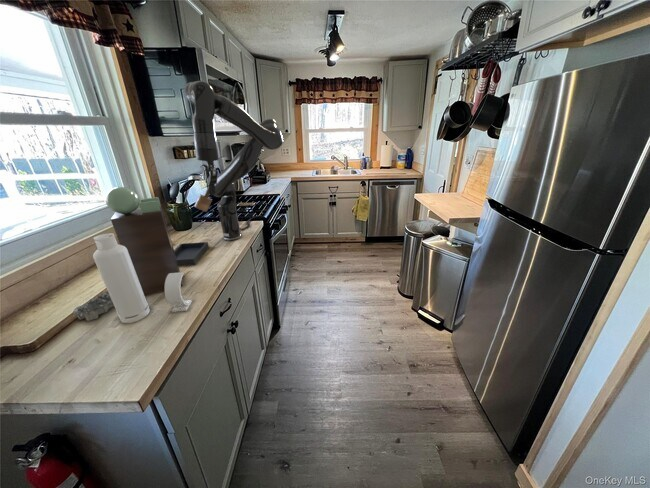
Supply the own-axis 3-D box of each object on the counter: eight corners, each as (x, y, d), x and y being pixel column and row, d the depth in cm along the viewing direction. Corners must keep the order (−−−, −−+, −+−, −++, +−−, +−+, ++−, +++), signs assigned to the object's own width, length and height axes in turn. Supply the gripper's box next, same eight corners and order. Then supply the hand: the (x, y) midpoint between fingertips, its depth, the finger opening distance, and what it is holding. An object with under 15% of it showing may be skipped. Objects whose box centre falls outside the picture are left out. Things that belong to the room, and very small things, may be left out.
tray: (182, 249, 134) (180, 243, 133) (209, 247, 135) (207, 241, 134) (164, 267, 116) (162, 260, 115) (195, 264, 117) (193, 258, 116)
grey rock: (90, 322, 82) (85, 312, 81) (74, 319, 84) (68, 308, 83) (122, 302, 92) (118, 293, 90) (106, 299, 94) (102, 290, 92)
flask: (113, 212, 90) (103, 186, 86) (161, 206, 97) (153, 181, 93) (108, 219, 83) (98, 191, 79) (160, 211, 89) (153, 185, 86)
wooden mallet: (197, 208, 96) (208, 212, 100) (213, 175, 95) (224, 180, 99) (191, 204, 99) (203, 208, 103) (207, 171, 98) (218, 176, 102)
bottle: (155, 309, 88) (127, 232, 76) (132, 325, 81) (98, 243, 69) (138, 305, 90) (108, 230, 79) (114, 320, 83) (78, 240, 72)
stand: (141, 284, 103) (115, 212, 91) (181, 275, 109) (161, 205, 97) (140, 297, 95) (110, 219, 83) (182, 285, 101) (160, 212, 89)
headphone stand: (191, 301, 91) (183, 272, 86) (185, 312, 86) (175, 281, 81) (178, 302, 91) (169, 273, 86) (170, 313, 85) (160, 282, 80)
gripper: (189, 144, 95) (196, 190, 103) (200, 148, 86) (206, 199, 93) (211, 144, 100) (215, 188, 107) (223, 148, 90) (227, 196, 98)
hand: (211, 193), depth 100 cm, fingers closed on wooden mallet
